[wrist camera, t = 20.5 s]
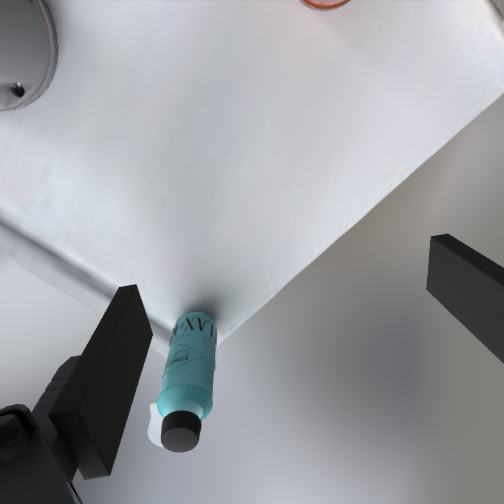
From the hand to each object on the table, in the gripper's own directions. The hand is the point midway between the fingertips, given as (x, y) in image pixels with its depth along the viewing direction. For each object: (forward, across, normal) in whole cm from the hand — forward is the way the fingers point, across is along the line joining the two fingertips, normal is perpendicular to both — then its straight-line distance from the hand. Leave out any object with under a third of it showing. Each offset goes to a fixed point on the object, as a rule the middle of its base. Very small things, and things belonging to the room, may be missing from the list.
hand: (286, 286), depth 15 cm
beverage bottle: (+31, -11, -22) cm, 40 cm away
